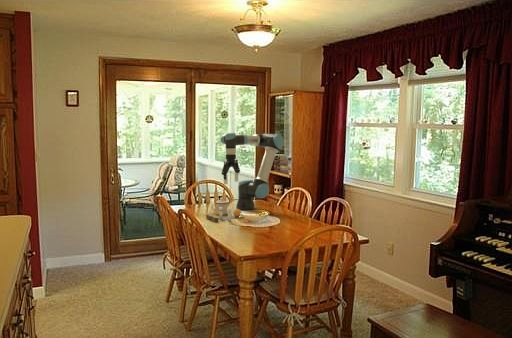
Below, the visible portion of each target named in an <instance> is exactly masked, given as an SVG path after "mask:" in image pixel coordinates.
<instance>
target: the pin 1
mask: <svg viewBox="0 0 512 338" xmlns="http://www.w3.org/2000/svg"><path fill="white" fill-rule="evenodd" d="M223 217H224V215H223V207H219V215H218V218H219V219H218V220H220V219H223Z"/></svg>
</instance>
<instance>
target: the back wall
mask: <svg viewBox="0 0 512 338" xmlns="http://www.w3.org/2000/svg"><path fill="white" fill-rule="evenodd" d="M205 216H206V220H209V221H211V222H213V223H219V219H218V218H219V216H214V215H211V214H209V213H208V214H206V215H205Z"/></svg>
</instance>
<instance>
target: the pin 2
mask: <svg viewBox="0 0 512 338" xmlns="http://www.w3.org/2000/svg"><path fill="white" fill-rule="evenodd" d="M231 216H232V208H227V217H228V220H227V221H228V222H231V221H232V219H231Z"/></svg>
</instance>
